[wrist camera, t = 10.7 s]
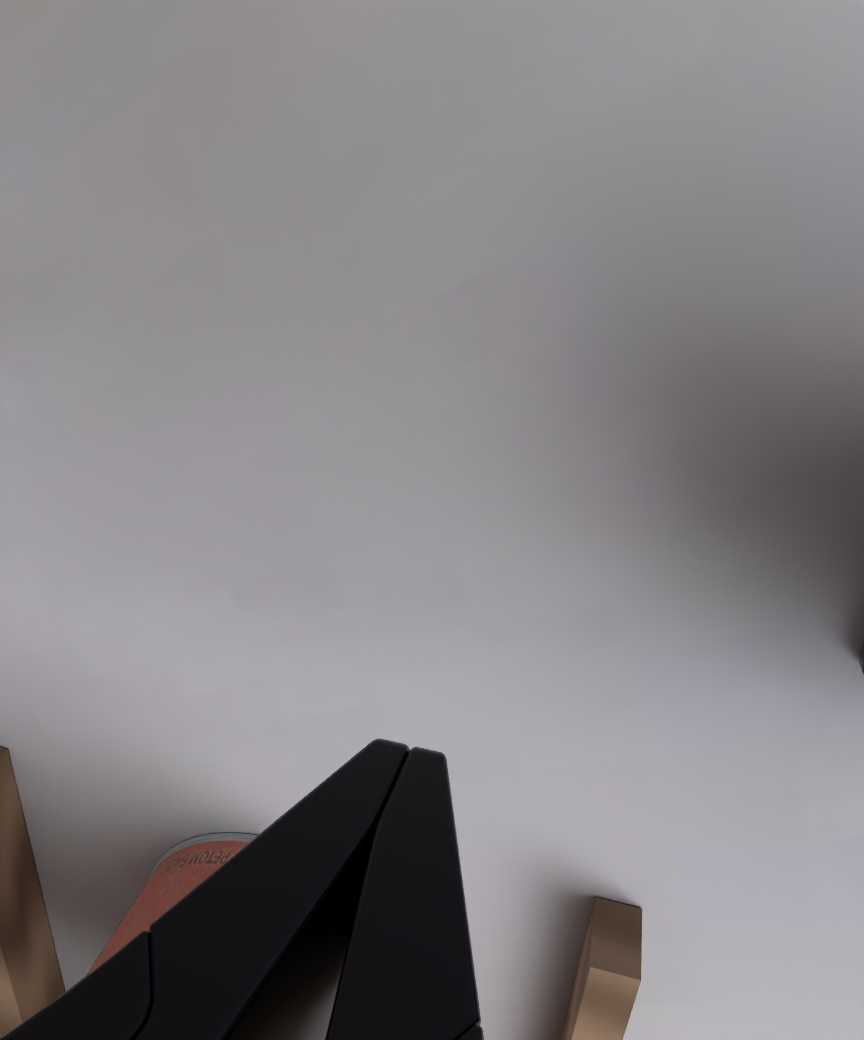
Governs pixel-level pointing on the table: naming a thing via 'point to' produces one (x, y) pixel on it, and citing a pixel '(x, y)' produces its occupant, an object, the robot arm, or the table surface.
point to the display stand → (37, 982)
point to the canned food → (174, 883)
